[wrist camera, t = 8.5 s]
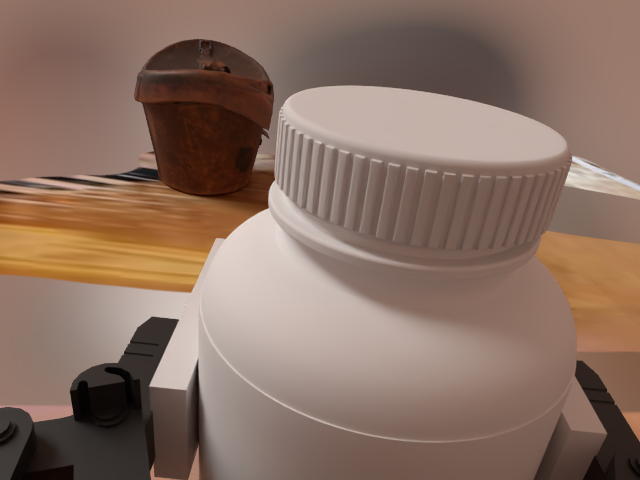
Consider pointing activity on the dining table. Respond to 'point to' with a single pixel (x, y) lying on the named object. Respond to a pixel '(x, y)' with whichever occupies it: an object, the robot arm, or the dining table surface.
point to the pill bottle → (389, 298)
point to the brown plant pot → (205, 114)
